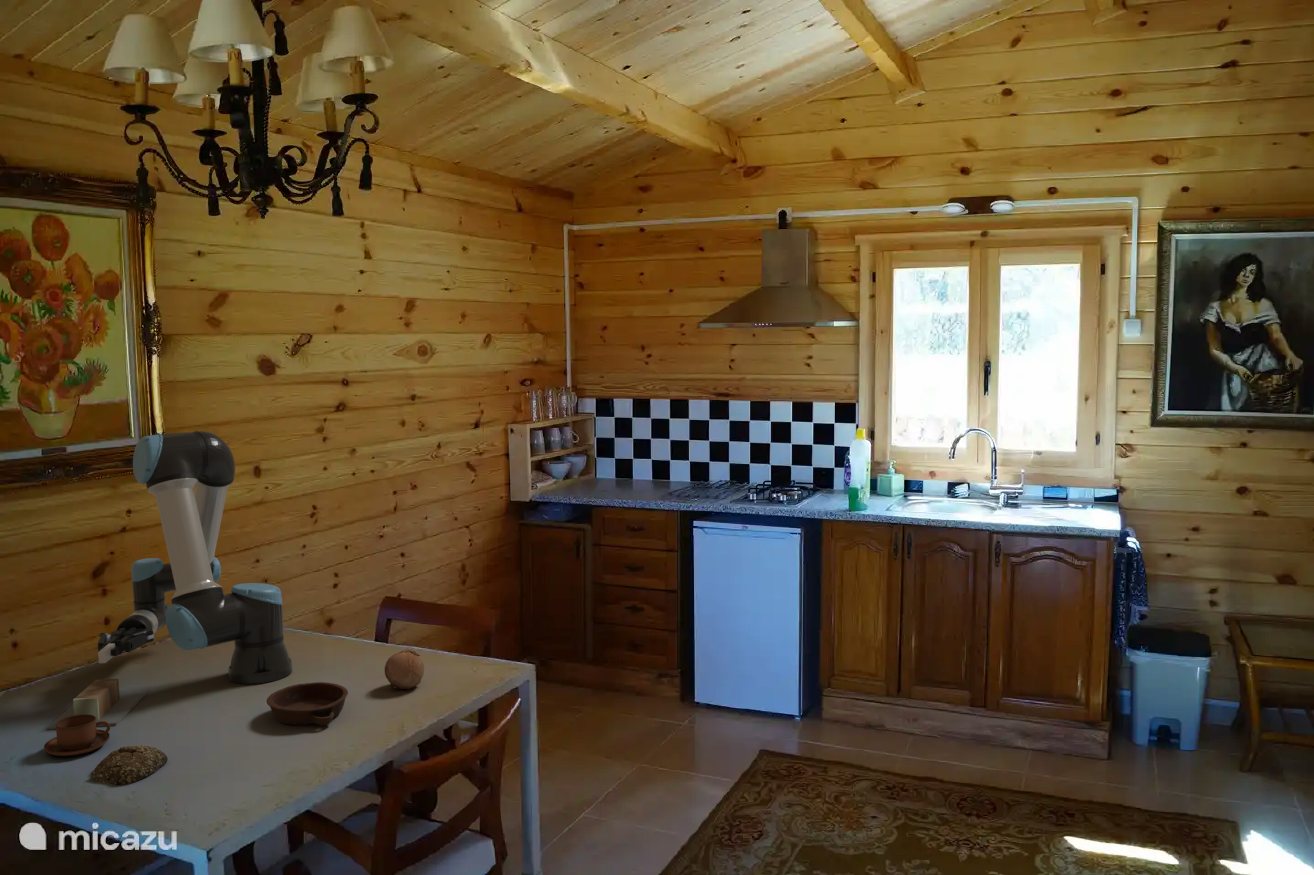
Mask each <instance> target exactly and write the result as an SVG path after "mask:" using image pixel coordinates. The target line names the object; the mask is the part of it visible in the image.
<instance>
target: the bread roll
mask: <svg viewBox="0 0 1314 875" xmlns="http://www.w3.org/2000/svg"><path fill="white" fill-rule="evenodd" d="M168 759H169V758H168V756H167V755H166V753H164V751H162V750H161V749H159V748H157V747H154V746H149V745H128V746H122V747H119V748H118V749H115V750H112V751H111V752H110V753H109V754H108V755H107V756H105V757H103V759H102V760H101V761H100V762H99V763H98V764H97V765H96V766H95V768H93V769H94V770H93V772H92V774H93V775H92V778H93V780H94V781H97V782H99V783H101V784H102V783H103V784H105V783H106V784H112V786H113V785H114V786H124V785H130V784H133V783H135V782H138V781H140V780H142V779H144V778H146V777H148V776H149V775H152V774H154V773H155V772H157V771H158V770H159V769H160V768H162V767H163V766H165V765H166V764H167V762H168Z"/></svg>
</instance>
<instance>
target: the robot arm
mask: <svg viewBox="0 0 1314 875" xmlns="http://www.w3.org/2000/svg"><path fill="white" fill-rule="evenodd" d="M132 457H133V458H132V469H133V471H132V472H133V476H134V478H135V480H136V482H137V483H138V484H142V485H145V484H146V490H147V493H149V494H150V495H153V496H154V497H155V498H156V499H155V500H156V505H157V508H158V512H159V513H158V514H159V519H160V523H161V527H162V531H163V537H164V542H165V545H166V550H167V554H168V559H169V563H164V562H163V560H162V558H157V557H155V558H154V557H150V558H143V559H138V560H136V561H134V562H133V563H132V565H131V586H132V596H133V597H132V598H133V599H132V600H133V612H132V613H131V614H130V615H128V616H127V617H126V618H125V619H124V620H122V621H121V622H120V623H119V624H118V627H117V628H116V630H115V631H111V633H110V634H109V633H105V632H100V633H99V634H98V635H99V636H98V637H99V640H98V641H97V651H98V652H97V654H98V656H97V657H98V664H106V663H108V661H110V660H111V659H112V658H114V657H115V656H118V655H119V654H123V653H124V652H125V653H131V652H132V651H135V650H137V649H138V648H141V647H142V646H145V645H146V644H148V643H151V642H154V641H155V636H154V634H155V633H156V632H158V631H159V630H160V629H161V628H163V627H164V626H165V625H166V629H167V632H168V634H169V636H170V638H171V641H173V643H174V644H175V645H176V646H177V647H178V648H179V649H181V650H182V651H194V650H202V649H206V648H208V647H212V646H216V645H220V644H225V643H229V642H234V648H233V652H232V655H231V660H230V665H229V666H228V679H229V680H230V682H233V683H236V684H244V685H247V684H248V685H250V684H251V685H253V684H264V683H270V682H274V681H277V680H281V679H283V678H286V677H287V676H289V675H290V674H292V673H293V661H292V658H290V656H289V652H288V649H287V647H286V644H285V638H284V616H283V615H284V614H283V612H284V611H283V605H284V604H283V602H284V601H283V597H282V591H281V589H280V588H279V587H278V586H276V585H274V584H268V583H259V582H250V583H249V582H247V583H246V582H245V583H237V584H235V585H233V586H231V589H230V593H227V594H226V593H225V594H224V590H223V586H222V585H221V584H219V583H217V582H218V581H219V580H220V578H221V575H222V571H221V569H222V567H221V563H220V561H219V559H218V558H217V557H215V554H216V553H215V552H216V548H217V543H218V539H219V534H220V528H221V523H222V518H223V515H224V514H223V513H224V509H225V504H226V500H227V499H226V498H227V494H228V488H229V486H230V485H232V484H233V483H234V481H235V475H236V461H235V458H234V457H235V456H234V455H233V452H232V449H231V448H230V447H229V445H228V443H226V442H225V441H224V440H223V439H222V438H221V437H219V435H216V434H215V433H212V432H211V431H210V432H209V431H204V430H196V431H189V432H187V431H186V432H172V433H171V432H170V433H157V434H153V435H146V436H143V437H141V438H140V439H139V440H138V441H137V443H136V445H135V448H134V452H133V456H132ZM195 487H196V488H195ZM194 489H195V492H194ZM169 592H170V593H171V592H174V593H173V594H172V596H171V598H170V601H171V604H170V605H168V603H167V602H166V599H165V598H166V593H169Z"/></svg>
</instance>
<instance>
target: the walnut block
mask: <svg viewBox="0 0 1314 875" xmlns="http://www.w3.org/2000/svg"><path fill="white" fill-rule="evenodd" d="M119 687H120V683H119V678H110V679H109V678H108V679H95V680H94V681H93V682H91V683H90V684H89V685H88V686H87V687H86V688H85V689H83V690H82V691H81V692H80V693H79V694H78V695H77V696H76V697H75V698H73V699H72V705H73V706H74V716H75V715H85V714H86V715H93V716H95V717H96V720H99V719H100V718H101V717H102V716H103V715H104V714H105V713H106V712H107V711H108V710H109V709H110V708H111V707H112V706H113V705H114V704H115V703H116V702H117V701H118V700H119V699H120V696H119Z"/></svg>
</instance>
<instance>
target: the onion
mask: <svg viewBox="0 0 1314 875" xmlns="http://www.w3.org/2000/svg"><path fill="white" fill-rule="evenodd" d="M420 656H421V655H420V654H419V653H416V651H415V650H413V649H411V648H407V649H404V650H402V651H399V652H397V653H394V654H392V655H390V657H389V658H388V659H387V660H386V663H385V665H384V675H385V678H386V680H387V681H388V682H389V684H390V686H392V687H393V688H394V689H398V690H399V691H401V690H409V689H410V690H411V689H412V688H413V689H414V688H417V686H419V685H420V684H421V683H422V680H423V677H424V673H425V665H424V664H425V663H424V661H423V660H422V658H421V657H420Z"/></svg>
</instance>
